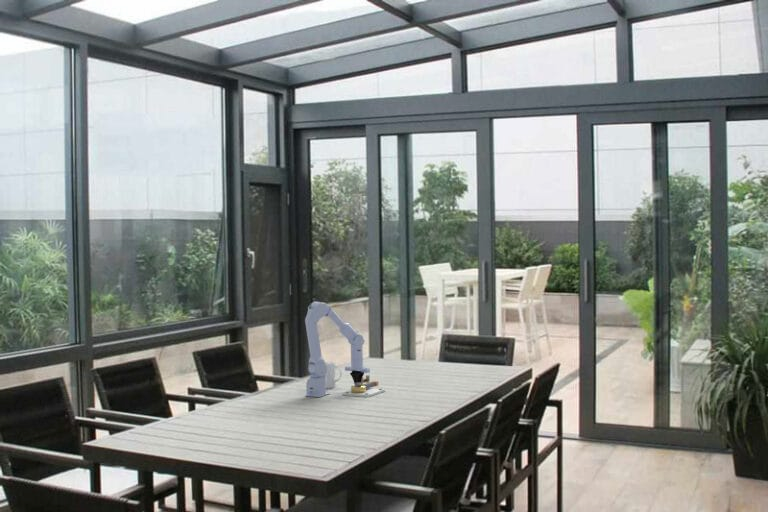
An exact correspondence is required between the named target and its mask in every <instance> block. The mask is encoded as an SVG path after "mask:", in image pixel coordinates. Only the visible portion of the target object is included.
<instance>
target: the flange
mask: <svg viewBox="0 0 768 512" xmlns="http://www.w3.org/2000/svg"><path fill="white" fill-rule="evenodd" d="M354 386H362V385H361V383H355V384H354ZM385 392H386V389H384V388H373V387H371V388H368V389H366V392H361V393H354V392H351V390H349V391H348V390H347V391H344V392H342V396H345V397H346V396H350V397H358V396H359V397H360V398H370V397H372V396H376V395H380V394H382V393H385Z"/></svg>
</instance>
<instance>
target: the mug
mask: <svg viewBox="0 0 768 512" xmlns="http://www.w3.org/2000/svg"><path fill="white" fill-rule="evenodd" d="M324 362H325V364H326V366H327V369H328V370H327V373H326V374H325V375H326V389H334V388H336V387H337V382H339V381H340V380H341V377H342V374H343V373H342V370H341V369H340V367H339V366H337V365H336V362H334V361H324ZM336 369H338V371H339V373H340V375H339V378H337V373H336Z"/></svg>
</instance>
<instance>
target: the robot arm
mask: <svg viewBox="0 0 768 512" xmlns="http://www.w3.org/2000/svg"><path fill="white" fill-rule="evenodd" d="M324 317H327V318H328V319H329V320H330V321H331V322H333V324H335V325H336V326H337V327H338V328H339V329H338V331H339V332H340V333H341V335H343V337H345V339H346V340H347V342H348V343H349V344H350V366H347V365H346V366H344V371H346V372H347V371H348V372H350V373H349V374H350V376H351V378H352V380H353V384H354V385H355V383H361V380H362V377H363V378H364V375H365V374H369V373H371V372H370V369H371V368H367V367H364V361H363V360H364V358H363V357H364V356H363V355H364V354H363V350H364V349H363V345H364V344H365V339H364V336H363V335H361V334H360V333H359V331H358V330H355V328H353V324H351V323H348V322H344V321H343V320H342V318H341V317H340V316H339V315H338V314H337V313H336V311H334V309H333V308H332V307H331V306H330V305H328V303H326V302H322V301H321V302H320V301H317V300H316V301H313V302H311V303H310V304H309V306H307V314H306V316H305V318H304V323H305V328H306V329H305V330H306V336H307V342H308V350H309V355H310V357H309V358H308V365H307V366H308V368H307V370H308V372H309V373H310V377H309V379H307V380H306V384H305V385H306V394H304V396H305V397H313V398H320V397H323V396H327V395H330V392H327V388H326V375H325V374H326V373H327V370H328V369H327V366H326V364H325V362H326V361H325V359H324V357H323V355H322V349H321V348H322V347H321V344H320V343H321V342H320V337H319V335H320V334H319V330H318V322H319V321H320V320H321V319H322V318H324Z"/></svg>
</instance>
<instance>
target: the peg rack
mask: <svg viewBox="0 0 768 512" xmlns="http://www.w3.org/2000/svg"><path fill="white" fill-rule="evenodd" d="M370 378H371V377H370V375H369V374H366V375H365V378H364V376H363V377H362V380H361V385H363V384H367V383H370V382H372V381H373V380H370Z"/></svg>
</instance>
